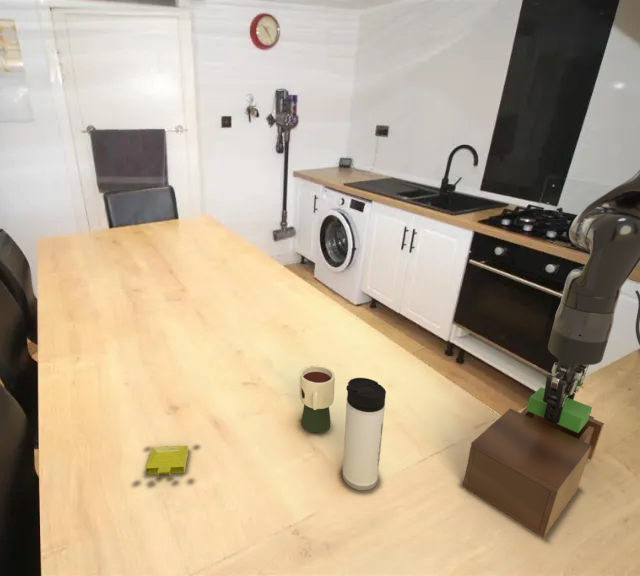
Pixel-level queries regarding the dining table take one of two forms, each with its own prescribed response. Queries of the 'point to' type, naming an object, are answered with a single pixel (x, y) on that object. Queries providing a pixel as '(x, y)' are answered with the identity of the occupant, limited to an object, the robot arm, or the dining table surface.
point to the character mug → (316, 397)
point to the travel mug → (363, 433)
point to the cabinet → (526, 469)
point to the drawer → (586, 434)
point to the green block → (571, 415)
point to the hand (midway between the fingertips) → (557, 413)
